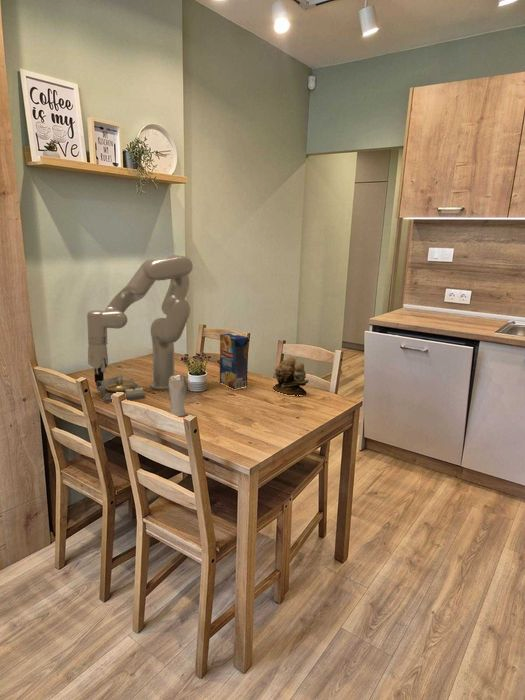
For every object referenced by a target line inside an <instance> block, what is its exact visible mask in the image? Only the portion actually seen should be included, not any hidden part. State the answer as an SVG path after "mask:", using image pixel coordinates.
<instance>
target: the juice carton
mask: <svg viewBox="0 0 525 700" xmlns="http://www.w3.org/2000/svg"><path fill="white" fill-rule="evenodd" d="M219 337H220V338H219V384H220V383H223V384H225V385H227V386H229V387H231V388H233V389H237V388H241V387H245V386H247V387H248V369H249V367H248V366H249V364H248V363H249V337H248V336H245V335H241V334H237V333H234V332H231V333H222V334H219Z"/></svg>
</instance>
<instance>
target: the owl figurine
mask: <svg viewBox="0 0 525 700" xmlns="http://www.w3.org/2000/svg"><path fill="white" fill-rule="evenodd" d="M274 370H275V372H274V374H275V378H276V380H277V382H278V383H276V384H275V385H273V386H272V390H273V389H274V390H275V391H277V392H280V393H283V394H287V395H295V396H297V395H298V396H299V395H303V396H305V395H304V394H306V395H307V391H306V390H305V388H303V387H304V386H306V384H308V383H309V382H310V381H309V379H306V378H307V374H306V372H305V365H304V363H303V362H301V361H297V362H296V359H295V357H294V356H289V357H287V358H285V359H284V360H282V361H281V362H280V363H279V364H278V365H277V366H276V367H275V369H274ZM275 391H274V392H275ZM299 397H300V396H299Z"/></svg>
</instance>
